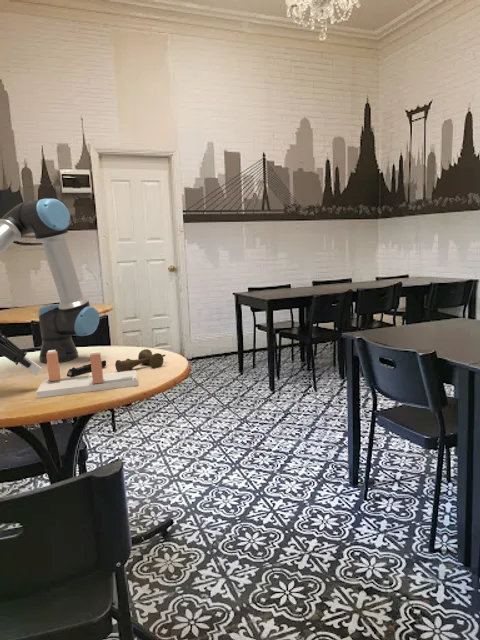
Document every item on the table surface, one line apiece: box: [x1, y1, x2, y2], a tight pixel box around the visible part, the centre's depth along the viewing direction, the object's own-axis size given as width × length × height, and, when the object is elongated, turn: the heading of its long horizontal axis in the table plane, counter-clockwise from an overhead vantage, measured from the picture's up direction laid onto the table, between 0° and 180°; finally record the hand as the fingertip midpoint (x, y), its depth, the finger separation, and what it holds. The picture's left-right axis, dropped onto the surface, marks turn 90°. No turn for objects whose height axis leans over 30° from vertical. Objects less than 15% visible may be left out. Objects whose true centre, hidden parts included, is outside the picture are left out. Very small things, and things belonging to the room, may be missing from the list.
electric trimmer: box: [66, 360, 107, 378], centre depth 171 cm, size 4×16×3 cm, turn 141°
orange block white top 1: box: [46, 350, 61, 381], centre depth 152 cm, size 3×3×10 cm
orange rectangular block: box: [89, 350, 104, 384], centre depth 146 cm, size 3×3×10 cm
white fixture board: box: [36, 369, 139, 399], centre depth 151 cm, size 14×30×3 cm, turn 105°
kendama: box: [114, 348, 167, 372], centre depth 172 cm, size 6×10×20 cm
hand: (39, 371), depth 151 cm, fingers closed
